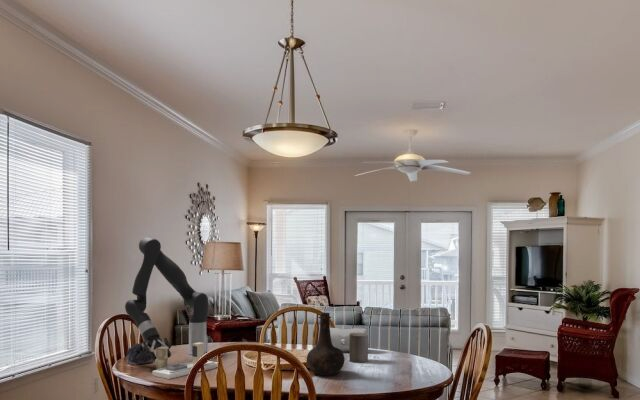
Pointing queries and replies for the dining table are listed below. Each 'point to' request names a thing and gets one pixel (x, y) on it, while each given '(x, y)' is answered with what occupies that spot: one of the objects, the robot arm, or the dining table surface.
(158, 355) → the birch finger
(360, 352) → the pillar candle
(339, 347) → the tank
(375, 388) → the dining table surface
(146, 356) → the crystal cluster
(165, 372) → the board
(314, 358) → the dark brown vase
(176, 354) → the dining table surface
